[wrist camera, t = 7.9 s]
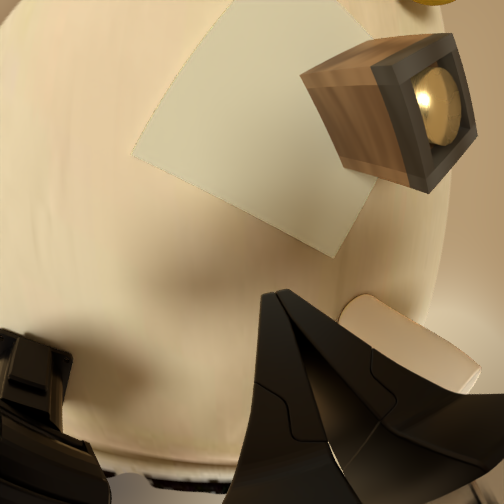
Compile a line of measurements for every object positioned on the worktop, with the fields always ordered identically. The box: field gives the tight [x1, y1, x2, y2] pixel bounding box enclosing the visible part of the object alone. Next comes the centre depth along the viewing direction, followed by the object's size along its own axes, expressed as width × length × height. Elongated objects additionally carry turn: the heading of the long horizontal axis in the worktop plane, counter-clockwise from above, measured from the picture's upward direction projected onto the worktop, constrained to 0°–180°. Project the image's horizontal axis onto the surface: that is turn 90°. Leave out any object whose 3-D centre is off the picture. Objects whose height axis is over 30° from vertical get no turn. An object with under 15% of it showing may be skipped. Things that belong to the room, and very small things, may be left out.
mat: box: [131, 0, 378, 259], centre depth 19 cm, size 18×18×1 cm
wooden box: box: [299, 33, 478, 194], centre depth 17 cm, size 8×8×8 cm
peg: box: [410, 67, 461, 146], centre depth 17 cm, size 5×5×8 cm
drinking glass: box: [338, 294, 482, 394], centre depth 25 cm, size 7×7×15 cm
